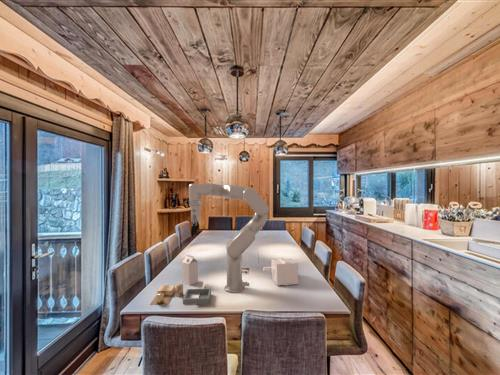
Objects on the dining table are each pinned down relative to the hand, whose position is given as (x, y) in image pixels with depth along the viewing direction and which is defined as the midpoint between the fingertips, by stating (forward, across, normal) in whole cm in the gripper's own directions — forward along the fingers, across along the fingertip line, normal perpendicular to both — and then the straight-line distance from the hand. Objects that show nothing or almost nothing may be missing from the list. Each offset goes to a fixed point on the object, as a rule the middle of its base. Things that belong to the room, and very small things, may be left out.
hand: (195, 231), depth 161 cm
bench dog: (+35, -19, +17) cm, 44 cm away
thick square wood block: (+36, -6, +17) cm, 40 cm away
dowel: (+37, -10, +8) cm, 39 cm away
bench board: (+37, -10, +17) cm, 41 cm away
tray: (+37, -14, -3) cm, 39 cm away
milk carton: (+37, +10, +5) cm, 39 cm away
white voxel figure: (+37, +15, -57) cm, 70 cm away
